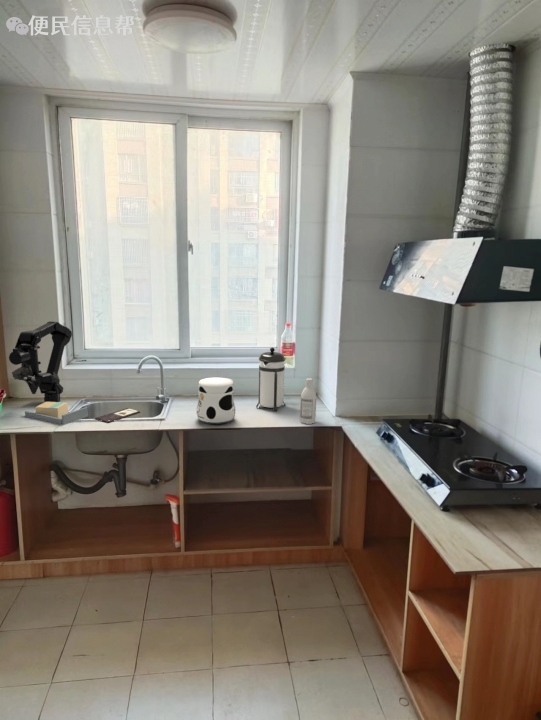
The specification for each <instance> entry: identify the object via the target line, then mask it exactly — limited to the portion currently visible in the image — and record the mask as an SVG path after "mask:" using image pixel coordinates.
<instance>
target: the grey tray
mask: <svg viewBox="0 0 541 720" xmlns="http://www.w3.org/2000/svg"><path fill="white" fill-rule="evenodd" d="M88 410H89V407H87V406H85V407H82V408H79V409H75V410H74V411H68V413H66V414H64V415H62V416H61V417H59V418H56V417H52V416H47V415H43V414H38V413H36V411H35V412H33V411H27V410H25V411H24V417H28V418H33V419H35V420H40V421H41V420H42V421H45V422H50V423H55V424H59V425H62V426H65V425H67V424H71V423H74V422H77V421H79V420H81V419H84V418H87V417H89V411H88Z"/></svg>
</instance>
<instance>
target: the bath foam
mask: <svg viewBox="0 0 541 720" xmlns="http://www.w3.org/2000/svg"><path fill="white" fill-rule="evenodd" d="M299 405H300V407H299V422H300V423H301V422H302V423H301V424H304V423H306V424H305V425H312V423H313V424H315V423H316V415H317V414H316V413H317V393H316V390H315V389H314V387H313V378H311V377H309V378H306V379H305V387H304V388H303V390H302V392H301V394H300V404H299Z"/></svg>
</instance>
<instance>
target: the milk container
mask: <svg viewBox="0 0 541 720" xmlns="http://www.w3.org/2000/svg"><path fill="white" fill-rule="evenodd" d="M197 388H198V390H197V391H198V392H197V393H198V400H197V405H196V417H197V419H198V420H199V421H200V422H202V423H203V424H210V425H212V424H213V425H220V424H226V423H229V422H231V421H233V420H234V418H235V416H236V404H235V399H234V398H235V397H234V394H235V392H234V380H233V379H231V378H227V377H207V378H206V377H205V378H201V379H200V380H199V381H198V387H197Z"/></svg>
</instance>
